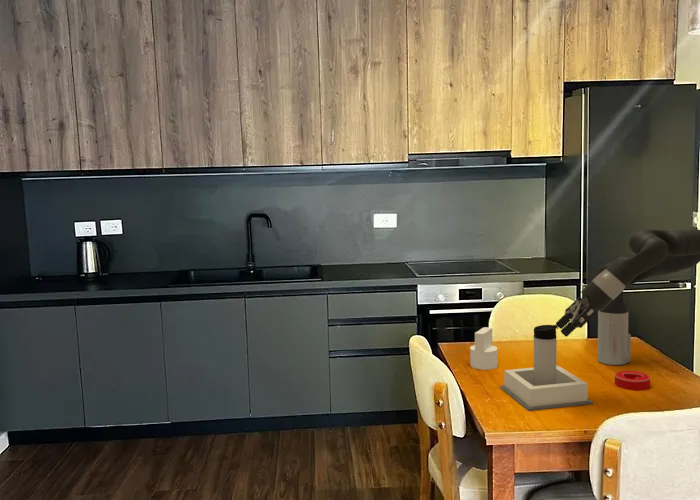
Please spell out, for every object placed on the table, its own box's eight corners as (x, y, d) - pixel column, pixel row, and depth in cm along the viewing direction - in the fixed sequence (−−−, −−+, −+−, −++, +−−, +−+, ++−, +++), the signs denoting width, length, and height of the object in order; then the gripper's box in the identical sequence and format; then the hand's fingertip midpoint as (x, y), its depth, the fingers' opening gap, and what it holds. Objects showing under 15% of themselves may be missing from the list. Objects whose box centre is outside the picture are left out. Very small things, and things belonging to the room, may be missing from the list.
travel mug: (558, 397, 177) (559, 328, 174) (534, 396, 178) (534, 328, 176) (556, 389, 183) (556, 323, 180) (532, 389, 184) (532, 322, 182)
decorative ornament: (620, 378, 193) (620, 368, 193) (654, 384, 187) (654, 373, 187) (610, 387, 186) (610, 376, 186) (644, 393, 180) (644, 382, 179)
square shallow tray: (558, 381, 191) (558, 363, 191) (592, 403, 173) (593, 384, 172) (500, 387, 188) (499, 369, 187) (528, 410, 170) (528, 390, 169)
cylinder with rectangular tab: (492, 371, 204) (492, 335, 202) (466, 367, 208) (465, 332, 207) (501, 363, 211) (501, 328, 210) (475, 360, 216) (475, 326, 214)
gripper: (620, 304, 166) (575, 346, 169) (607, 293, 180) (566, 332, 183) (599, 284, 166) (554, 327, 169) (587, 275, 180) (547, 315, 183)
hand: (560, 330), depth 176 cm, fingers open, 8 cm apart
